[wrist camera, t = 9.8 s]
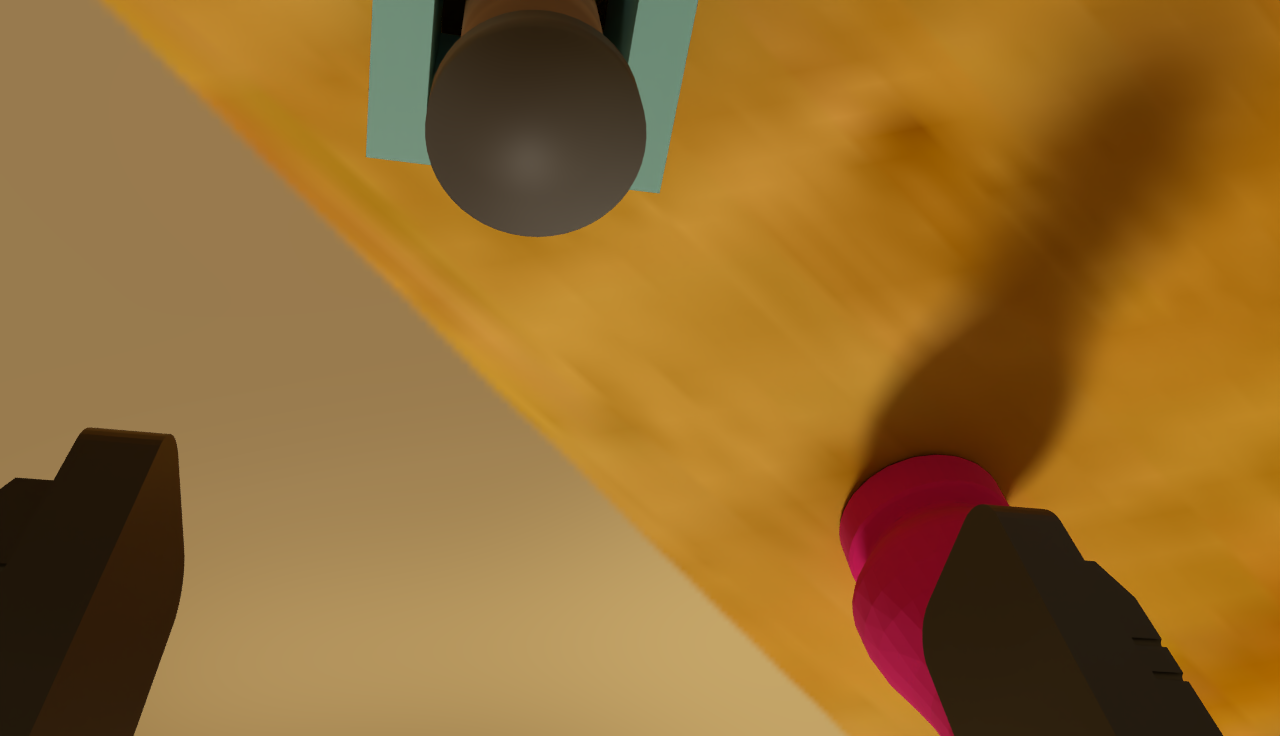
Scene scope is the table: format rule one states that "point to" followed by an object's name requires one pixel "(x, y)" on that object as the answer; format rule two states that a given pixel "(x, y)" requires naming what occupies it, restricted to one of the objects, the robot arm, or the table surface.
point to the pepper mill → (908, 561)
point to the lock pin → (535, 117)
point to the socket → (414, 46)
